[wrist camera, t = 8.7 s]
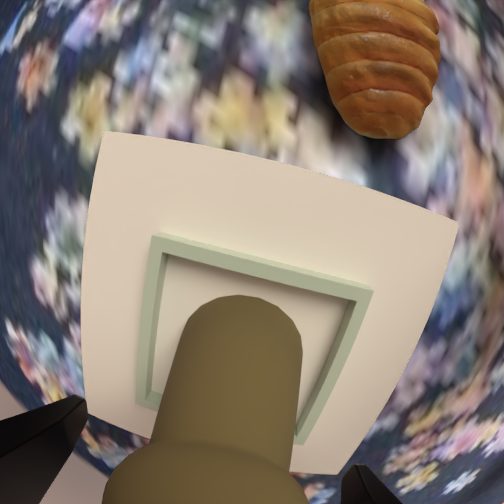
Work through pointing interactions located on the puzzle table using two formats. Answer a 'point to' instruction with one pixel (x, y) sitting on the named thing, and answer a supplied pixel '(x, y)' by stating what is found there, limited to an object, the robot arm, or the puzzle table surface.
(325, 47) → the pastry
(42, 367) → the puzzle table surface
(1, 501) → the robot arm
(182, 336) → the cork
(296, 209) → the cream flat square slab
